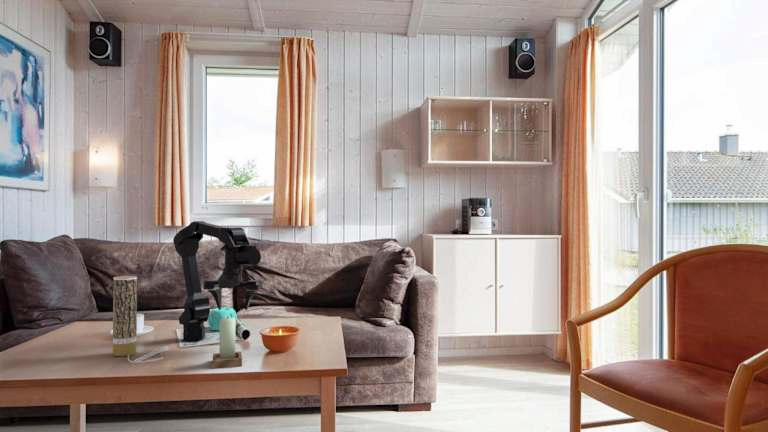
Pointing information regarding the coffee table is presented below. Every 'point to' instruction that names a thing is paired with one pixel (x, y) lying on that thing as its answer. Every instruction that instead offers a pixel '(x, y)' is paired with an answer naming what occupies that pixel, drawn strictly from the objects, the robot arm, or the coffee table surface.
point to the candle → (227, 338)
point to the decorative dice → (220, 316)
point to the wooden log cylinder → (124, 315)
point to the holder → (226, 361)
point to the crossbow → (149, 355)
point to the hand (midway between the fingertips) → (233, 309)
